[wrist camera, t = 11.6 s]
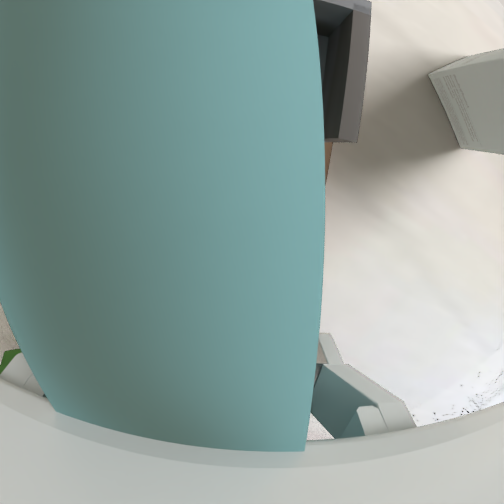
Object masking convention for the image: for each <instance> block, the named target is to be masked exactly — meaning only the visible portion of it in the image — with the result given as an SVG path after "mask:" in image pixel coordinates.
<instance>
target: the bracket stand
mask: <svg viewBox="0 0 504 504" xmlns="http://www.w3.org/2000/svg"><path fill="white" fill-rule="evenodd" d="M313 4H314V12H315V20H316V29H317V38H318V48H319V59H320V70H321V84H322V100H323V119H324V146H325V185H326V179H327V174H328V168H329V162H330V156H331V150H332V144H333V142H355V143H357V140H358V133H359V127H360V120H361V113H362V106H363V98H364V90H365V81H366V72H367V62H368V51H369V38H370V23H371V2H370V1H367V0H313Z"/></svg>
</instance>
